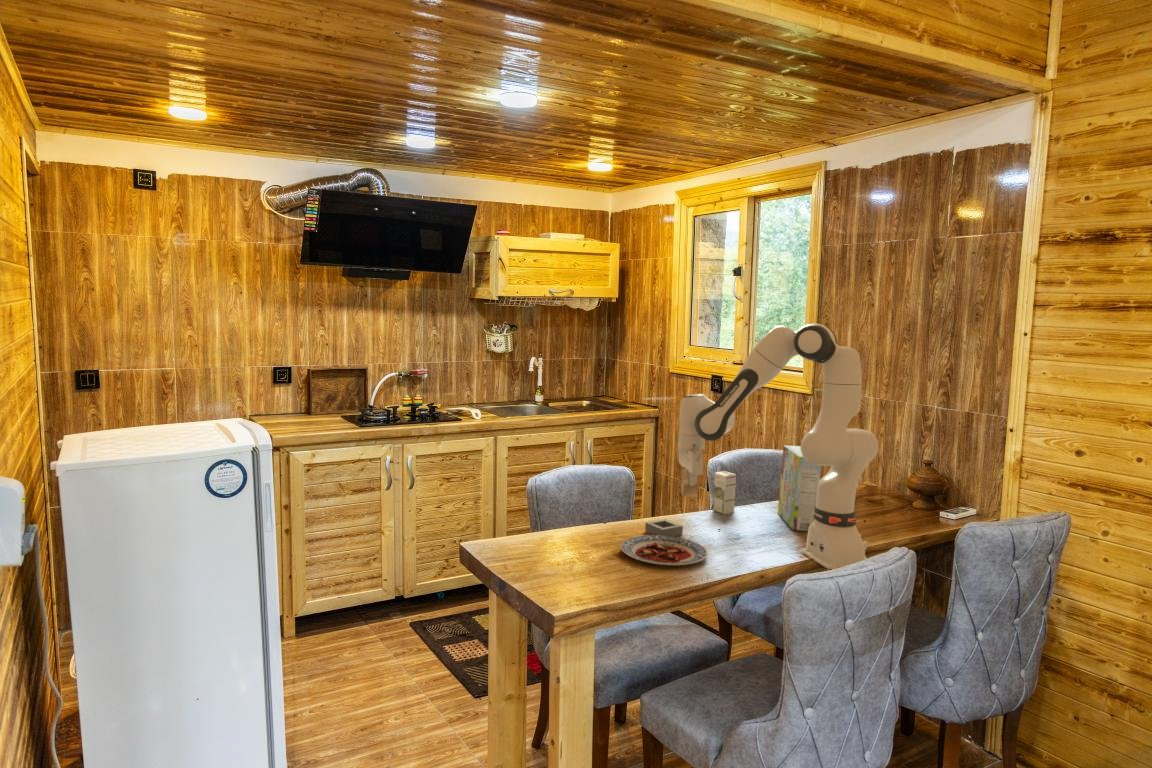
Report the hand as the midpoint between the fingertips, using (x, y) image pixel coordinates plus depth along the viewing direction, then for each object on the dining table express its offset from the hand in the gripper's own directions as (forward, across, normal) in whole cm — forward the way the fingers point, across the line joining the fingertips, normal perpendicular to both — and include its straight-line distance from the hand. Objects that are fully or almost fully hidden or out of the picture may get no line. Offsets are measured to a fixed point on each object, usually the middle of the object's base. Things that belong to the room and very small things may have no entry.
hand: (689, 483), depth 248 cm
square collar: (+16, -5, +9) cm, 19 cm away
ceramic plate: (+16, -26, +13) cm, 34 cm away
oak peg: (+4, 0, 0) cm, 4 cm away
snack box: (+16, +8, -41) cm, 45 cm away
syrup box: (+15, +21, -18) cm, 31 cm away
